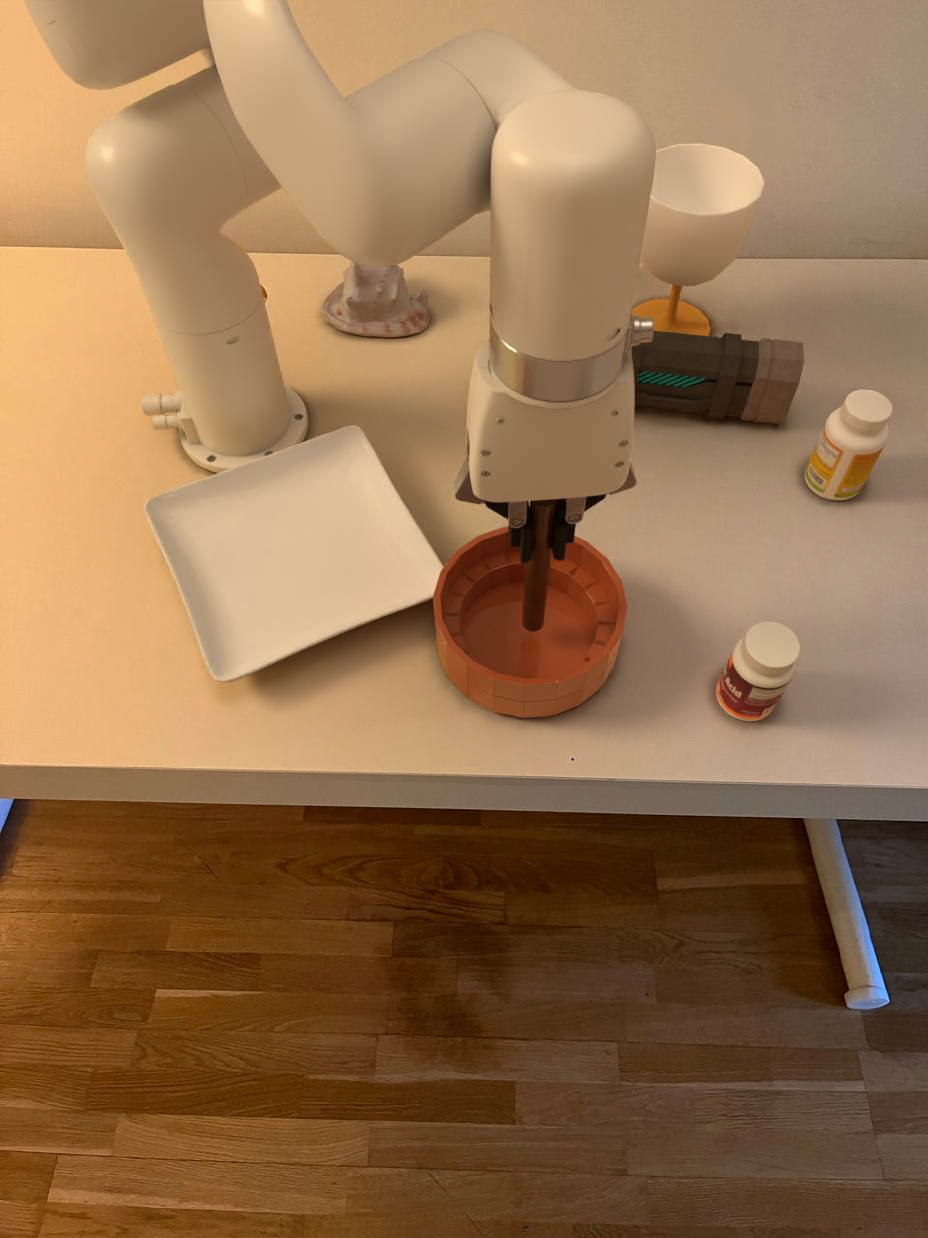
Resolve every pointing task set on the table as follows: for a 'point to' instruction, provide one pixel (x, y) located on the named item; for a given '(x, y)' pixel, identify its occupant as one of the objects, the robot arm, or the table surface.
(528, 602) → the stick
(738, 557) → the table surface
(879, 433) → the supplement bottle
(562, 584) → the bowl
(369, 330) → the seashell
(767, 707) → the pill bottle
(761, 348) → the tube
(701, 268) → the cup
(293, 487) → the salad plate
